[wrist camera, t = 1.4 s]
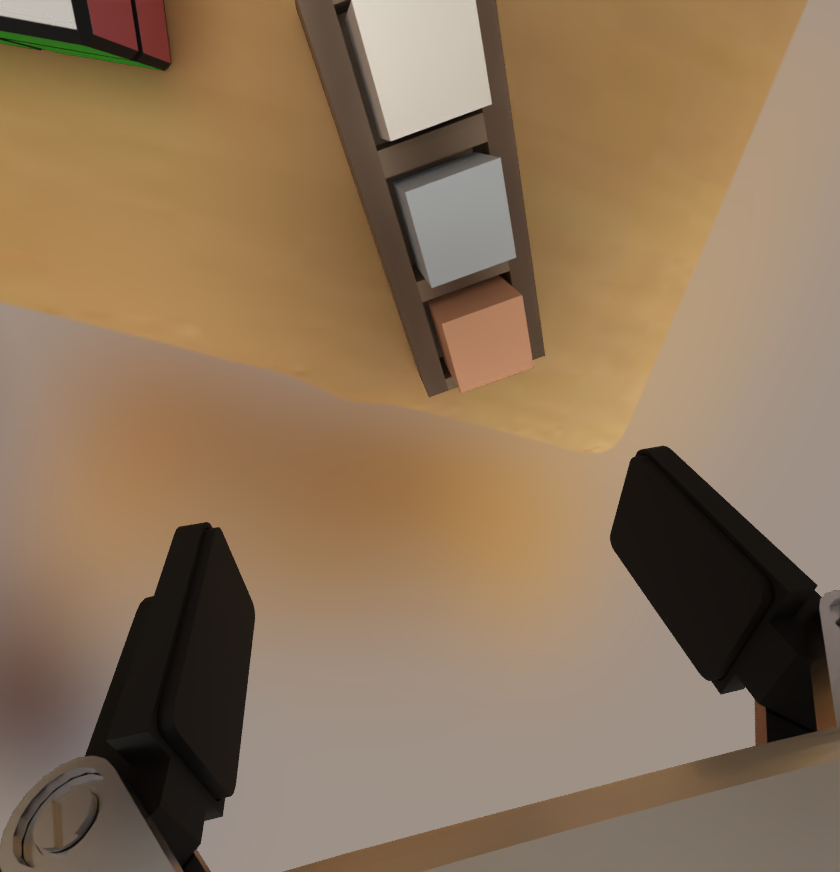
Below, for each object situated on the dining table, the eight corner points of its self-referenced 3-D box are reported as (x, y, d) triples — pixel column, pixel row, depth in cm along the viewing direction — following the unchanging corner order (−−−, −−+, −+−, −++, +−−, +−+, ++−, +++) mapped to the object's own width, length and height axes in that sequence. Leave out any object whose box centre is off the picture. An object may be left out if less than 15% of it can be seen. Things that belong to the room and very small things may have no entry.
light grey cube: (474, 151, 24) (500, 157, 20) (491, 240, 26) (516, 257, 23) (392, 182, 24) (404, 192, 20) (417, 267, 26) (431, 288, 23)
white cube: (442, -18, 20) (468, -44, 17) (466, 106, 22) (492, 104, 19) (344, 18, 20) (351, -1, 17) (379, 137, 23) (390, 141, 19)
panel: (458, -53, 21) (484, -83, 18) (522, 332, 33) (544, 355, 30) (296, 8, 21) (293, -12, 18) (417, 370, 33) (429, 397, 30)
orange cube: (497, 274, 27) (522, 295, 24) (509, 340, 30) (533, 367, 27) (426, 299, 28) (441, 324, 24) (445, 363, 30) (461, 393, 27)
